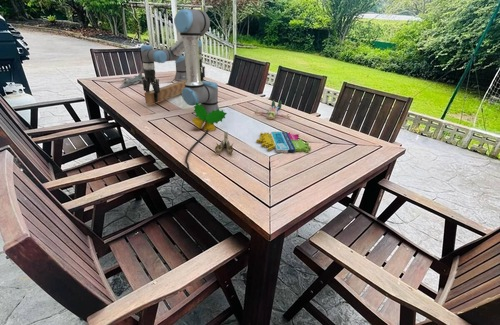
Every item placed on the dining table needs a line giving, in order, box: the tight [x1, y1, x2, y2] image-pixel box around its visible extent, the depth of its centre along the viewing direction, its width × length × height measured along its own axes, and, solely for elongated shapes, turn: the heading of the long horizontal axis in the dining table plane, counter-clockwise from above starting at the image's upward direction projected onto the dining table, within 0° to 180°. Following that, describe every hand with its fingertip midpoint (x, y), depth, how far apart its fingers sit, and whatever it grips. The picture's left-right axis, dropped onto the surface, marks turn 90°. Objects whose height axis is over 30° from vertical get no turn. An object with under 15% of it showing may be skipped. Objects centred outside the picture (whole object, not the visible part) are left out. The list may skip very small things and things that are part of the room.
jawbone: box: [214, 131, 234, 156], centre depth 136 cm, size 9×15×10 cm
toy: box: [253, 99, 292, 120], centre depth 196 cm, size 28×7×30 cm
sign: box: [256, 131, 312, 154], centre depth 152 cm, size 26×2×30 cm
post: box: [144, 76, 201, 105], centre depth 222 cm, size 77×5×8 cm, turn 160°
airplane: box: [119, 68, 144, 89], centre depth 248 cm, size 38×31×10 cm
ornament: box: [191, 102, 228, 132], centre depth 162 cm, size 21×8×15 cm, turn 105°
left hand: (198, 84), depth 252 cm, fingers closed on post, 5 cm apart
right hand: (153, 101), depth 196 cm, fingers closed on post, 5 cm apart
